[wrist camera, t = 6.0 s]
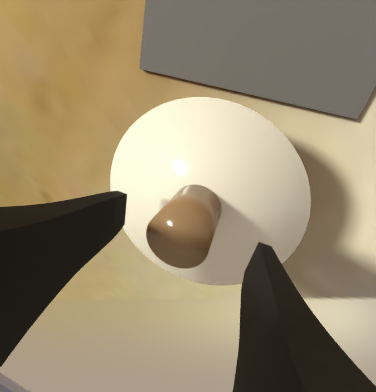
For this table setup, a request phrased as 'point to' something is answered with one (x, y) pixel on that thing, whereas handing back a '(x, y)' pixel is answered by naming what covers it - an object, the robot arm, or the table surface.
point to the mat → (268, 48)
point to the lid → (210, 188)
